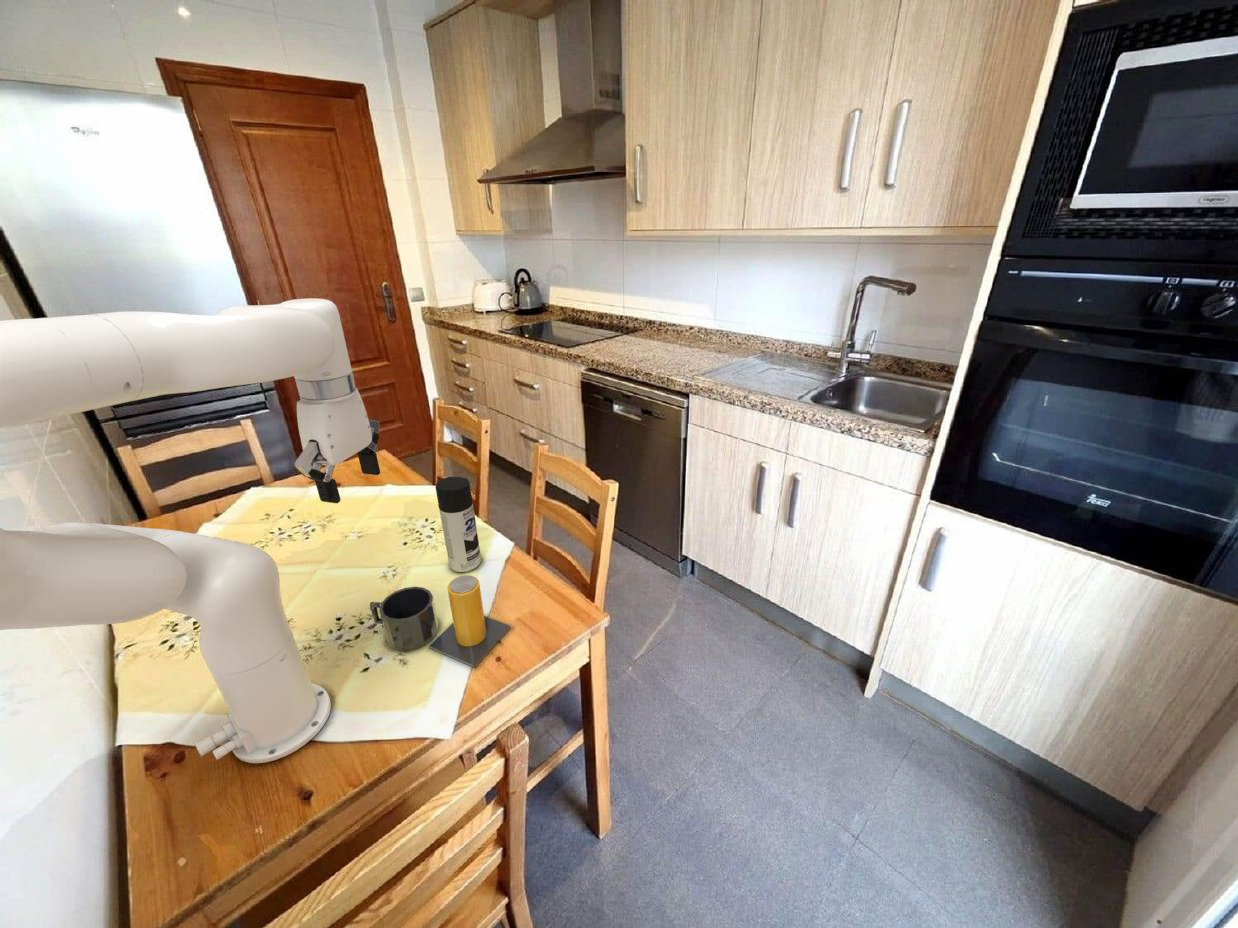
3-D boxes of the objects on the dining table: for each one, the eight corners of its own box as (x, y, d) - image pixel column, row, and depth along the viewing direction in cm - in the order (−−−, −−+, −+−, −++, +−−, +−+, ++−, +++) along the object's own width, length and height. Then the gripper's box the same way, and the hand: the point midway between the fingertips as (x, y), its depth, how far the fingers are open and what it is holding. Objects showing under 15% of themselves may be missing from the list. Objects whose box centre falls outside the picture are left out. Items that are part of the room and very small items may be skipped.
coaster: (475, 668, 84) (474, 665, 84) (429, 648, 88) (428, 645, 87) (510, 628, 92) (510, 625, 92) (467, 611, 96) (467, 609, 96)
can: (467, 651, 86) (458, 598, 81) (450, 636, 89) (440, 584, 84) (492, 634, 90) (485, 582, 85) (474, 620, 93) (467, 569, 88)
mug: (446, 619, 94) (441, 589, 91) (423, 654, 86) (416, 623, 83) (390, 611, 96) (382, 582, 93) (361, 645, 88) (353, 614, 85)
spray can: (472, 575, 105) (460, 492, 97) (443, 571, 107) (428, 488, 98) (486, 556, 111) (476, 476, 102) (458, 552, 112) (445, 473, 104)
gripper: (345, 369, 83) (366, 462, 91) (256, 402, 68) (291, 511, 75) (385, 372, 82) (404, 466, 89) (303, 407, 66) (334, 517, 74)
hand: (352, 486), depth 82 cm, fingers open, 9 cm apart
